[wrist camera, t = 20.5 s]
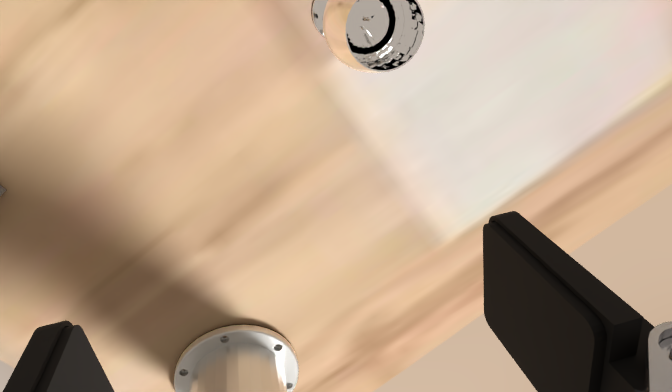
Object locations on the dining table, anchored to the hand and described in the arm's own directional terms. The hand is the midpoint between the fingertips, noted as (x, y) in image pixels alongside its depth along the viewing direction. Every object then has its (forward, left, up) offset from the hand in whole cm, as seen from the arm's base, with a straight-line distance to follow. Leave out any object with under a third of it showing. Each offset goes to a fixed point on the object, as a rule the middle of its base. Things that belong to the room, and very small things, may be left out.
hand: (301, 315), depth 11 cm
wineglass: (+3, -8, -31) cm, 32 cm away
